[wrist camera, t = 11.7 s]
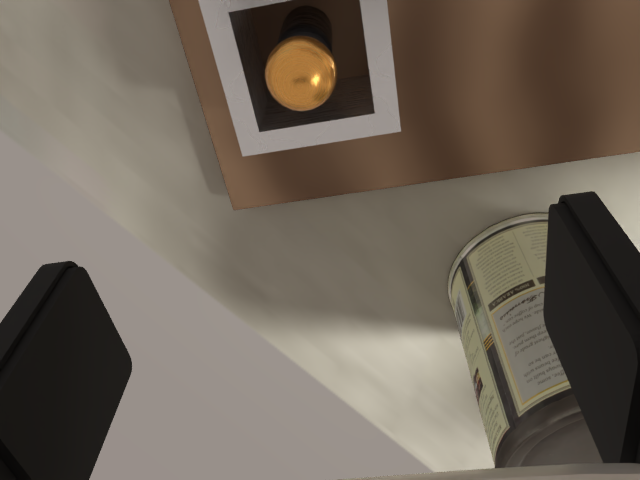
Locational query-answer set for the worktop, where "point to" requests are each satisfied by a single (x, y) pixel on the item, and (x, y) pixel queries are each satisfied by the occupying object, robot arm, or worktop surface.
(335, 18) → the board
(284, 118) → the white hollow square box
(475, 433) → the worktop surface
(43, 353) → the robot arm
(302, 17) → the post
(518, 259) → the coffee can
